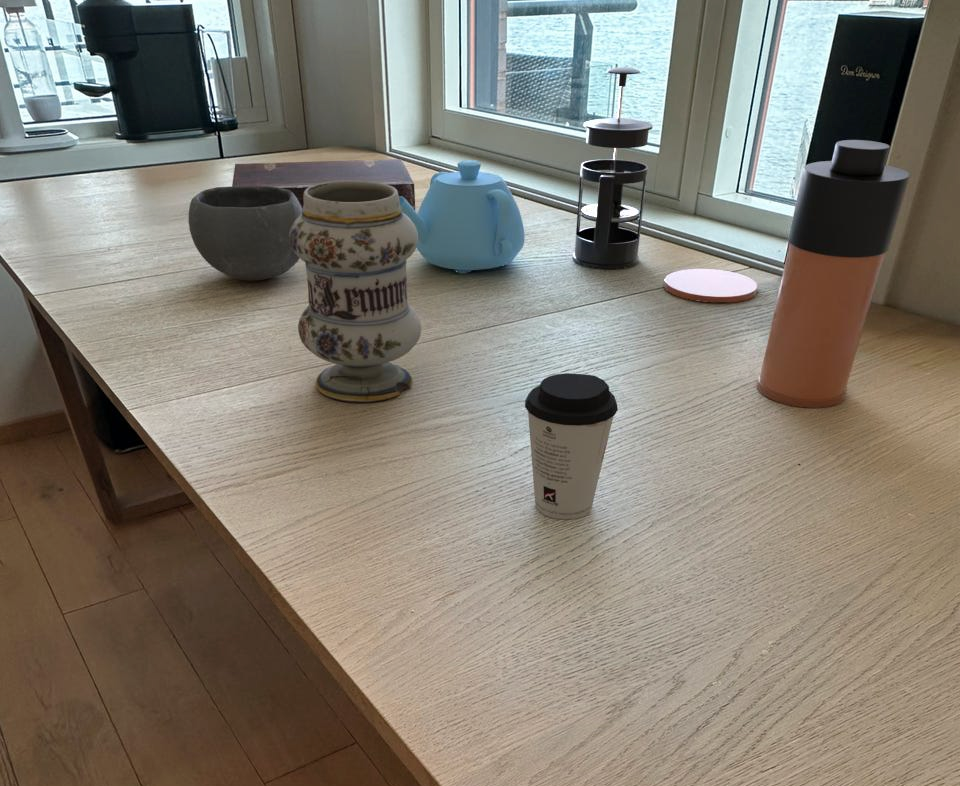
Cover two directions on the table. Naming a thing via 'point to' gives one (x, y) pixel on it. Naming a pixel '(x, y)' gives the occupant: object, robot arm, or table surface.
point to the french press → (611, 190)
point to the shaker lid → (849, 202)
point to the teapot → (467, 220)
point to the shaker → (817, 327)
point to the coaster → (710, 285)
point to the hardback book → (325, 175)
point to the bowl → (245, 230)
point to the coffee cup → (568, 441)
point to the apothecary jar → (357, 287)
